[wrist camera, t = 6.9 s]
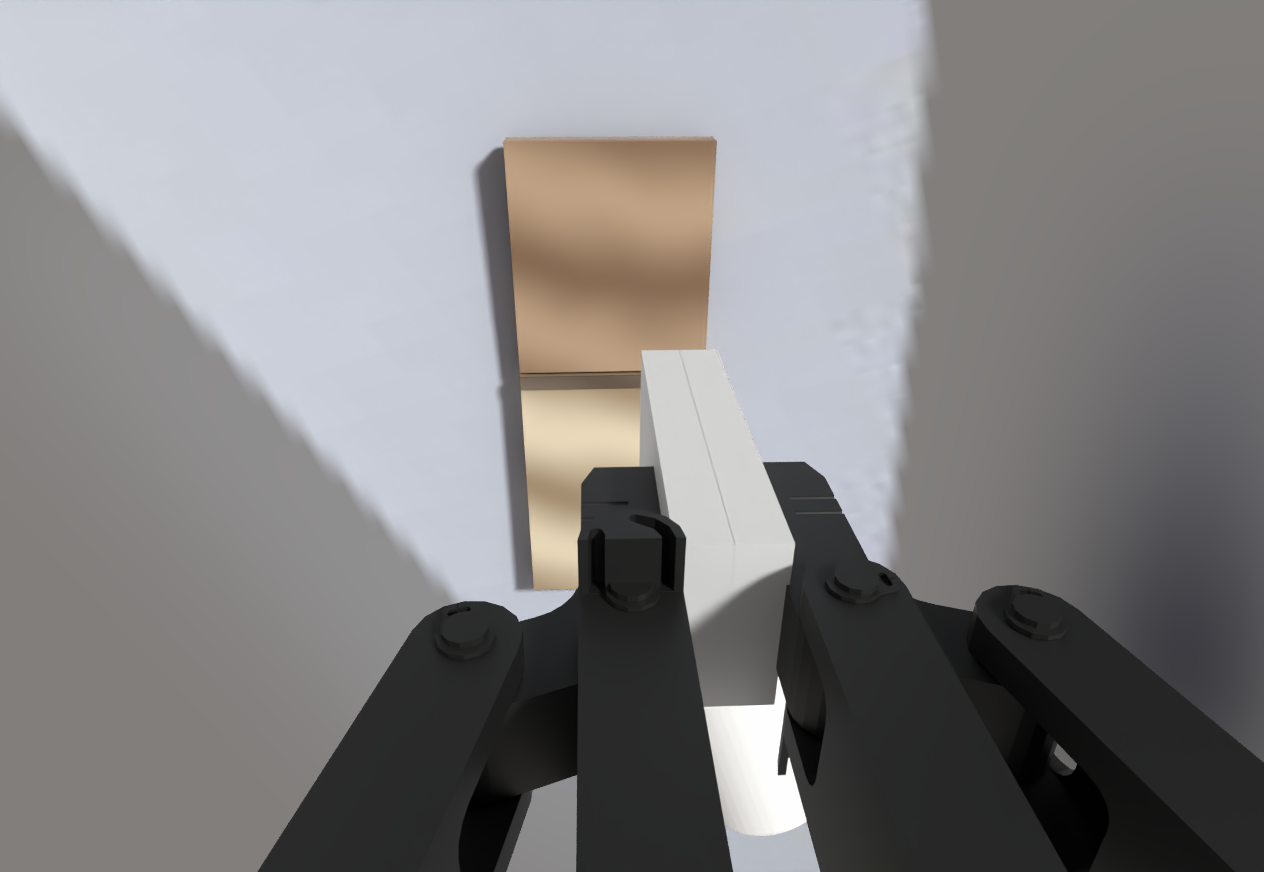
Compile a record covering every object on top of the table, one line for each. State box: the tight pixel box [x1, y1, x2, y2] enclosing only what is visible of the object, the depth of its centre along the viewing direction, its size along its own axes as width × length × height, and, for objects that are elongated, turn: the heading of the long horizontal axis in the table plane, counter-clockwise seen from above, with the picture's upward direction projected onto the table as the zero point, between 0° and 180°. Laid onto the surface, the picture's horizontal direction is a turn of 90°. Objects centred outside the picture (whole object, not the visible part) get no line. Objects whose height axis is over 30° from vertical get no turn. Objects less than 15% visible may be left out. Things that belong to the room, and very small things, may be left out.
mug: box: [704, 677, 807, 836], centre depth 42 cm, size 12×10×8 cm
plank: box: [503, 137, 717, 373], centre depth 34 cm, size 10×8×1 cm
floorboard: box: [520, 371, 641, 590], centre depth 39 cm, size 12×8×2 cm
